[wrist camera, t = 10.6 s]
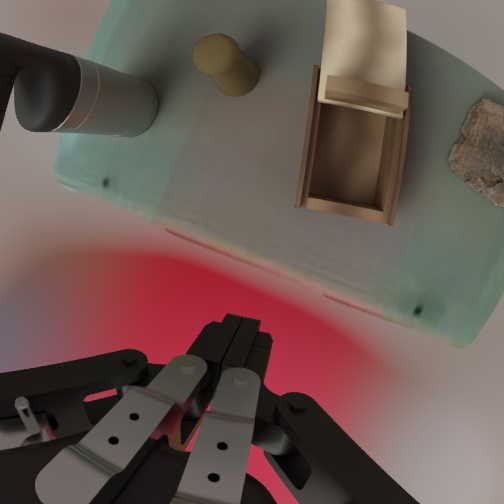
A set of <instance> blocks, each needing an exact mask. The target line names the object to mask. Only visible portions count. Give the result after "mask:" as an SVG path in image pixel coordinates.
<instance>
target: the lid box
mask: <svg viewBox="0 0 504 504" xmlns="http://www.w3.org/2000/svg"><path fill="white" fill-rule="evenodd" d="M320 74H321V69H320V68H319V65H314V69H313V77H312V86H311V94H310V103H309V111H308V118H307V126H306V134H305V141H304V148H303V156H302V163H301V170H300V176H299V183H298V190H297V196H296V203H295V207H296V208H300V207H303V208H309V209H314V210H320V211H325V212H331V213H336V214H341V215H347V216H352V217H357V218H362V219H367V220H372V221H376V222H381V223H386V224H388V225H390V226H393V224H394V219H395V214H396V209H397V204H398V199H399V193H400V188H401V182H402V176H403V169H404V162H405V155H406V147H407V139H408V130H409V120H410V108H411V94H412V86H411V85H407V86H406V87H405V92H408V93H409V98H408V108H407V109H405V110H404V111H403V118H402V119H398V118H394V117H390V116H386V115H382V114H377V113H373V112H369V111H364V110H360V109H355V108H350V107H345V106H339V105H334V104H328V103H322V102H317V100H318V91H319V83H320Z"/></svg>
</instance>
